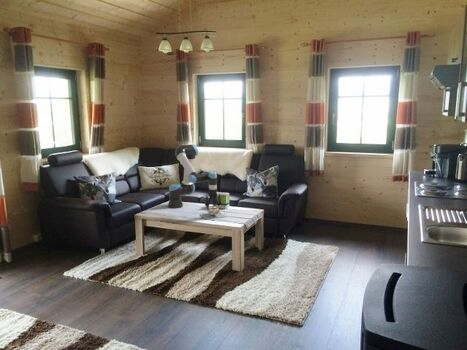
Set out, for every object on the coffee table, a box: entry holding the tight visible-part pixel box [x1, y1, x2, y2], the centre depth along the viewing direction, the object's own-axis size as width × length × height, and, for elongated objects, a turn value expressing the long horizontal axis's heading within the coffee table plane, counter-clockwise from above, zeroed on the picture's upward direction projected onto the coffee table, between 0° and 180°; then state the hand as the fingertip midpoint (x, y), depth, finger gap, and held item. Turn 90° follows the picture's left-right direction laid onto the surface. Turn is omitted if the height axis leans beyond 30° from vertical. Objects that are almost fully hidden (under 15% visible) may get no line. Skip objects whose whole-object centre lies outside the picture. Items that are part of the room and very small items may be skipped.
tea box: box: [212, 191, 230, 210], centre depth 378 cm, size 15×10×15 cm, turn 70°
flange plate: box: [206, 205, 221, 215], centre depth 351 cm, size 17×8×4 cm, turn 24°
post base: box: [200, 208, 227, 220], centre depth 349 cm, size 16×20×8 cm
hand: (213, 212), depth 349 cm, fingers closed on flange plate, 8 cm apart
